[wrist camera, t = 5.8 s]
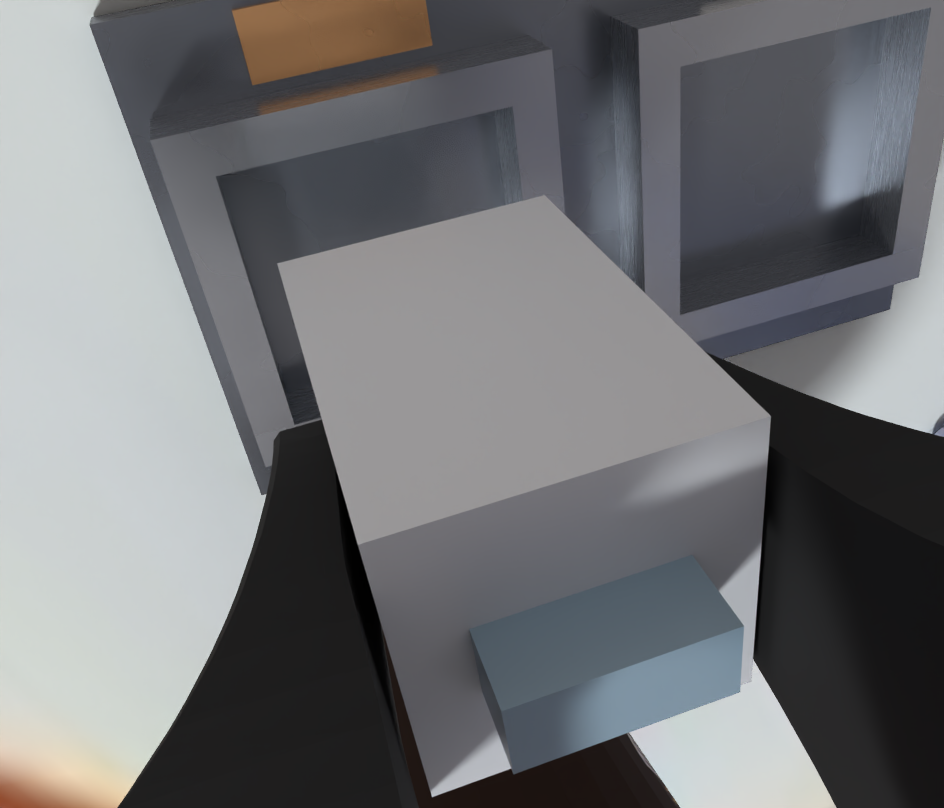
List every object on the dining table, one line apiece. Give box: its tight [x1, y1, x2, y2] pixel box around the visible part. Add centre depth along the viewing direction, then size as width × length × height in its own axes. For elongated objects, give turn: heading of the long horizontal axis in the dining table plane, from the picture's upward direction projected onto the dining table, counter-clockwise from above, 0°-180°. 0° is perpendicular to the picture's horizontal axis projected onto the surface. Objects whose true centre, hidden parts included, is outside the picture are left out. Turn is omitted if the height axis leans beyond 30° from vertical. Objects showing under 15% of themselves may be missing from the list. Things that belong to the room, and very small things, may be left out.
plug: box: [277, 195, 771, 797], centre depth 11 cm, size 4×4×7 cm
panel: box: [90, 0, 944, 495], centre depth 18 cm, size 16×10×2 cm, turn 96°
